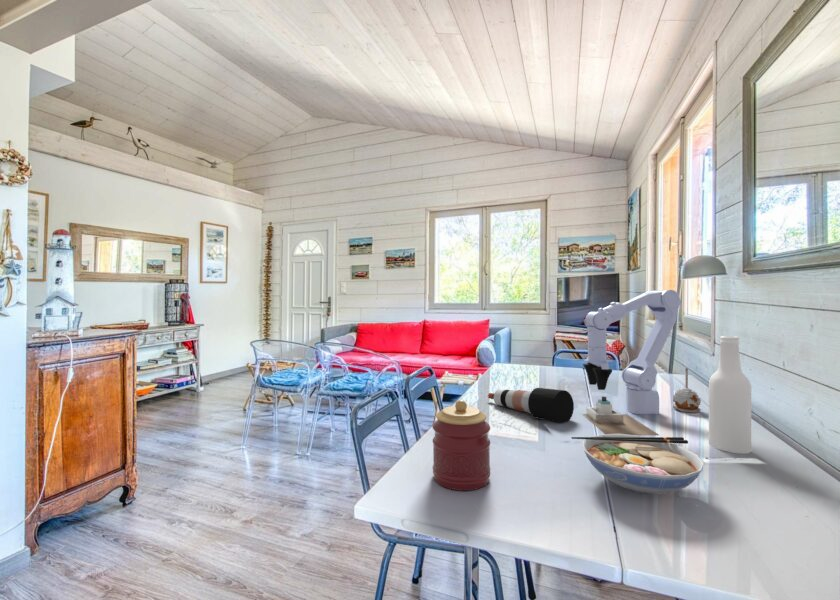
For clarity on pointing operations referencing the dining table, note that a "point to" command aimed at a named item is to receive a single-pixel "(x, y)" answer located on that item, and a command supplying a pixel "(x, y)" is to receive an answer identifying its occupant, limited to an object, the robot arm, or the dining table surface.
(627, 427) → the board
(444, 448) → the canister
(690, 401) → the caramel apple
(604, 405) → the connector plug
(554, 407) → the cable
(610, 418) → the end holder
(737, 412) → the alcohol
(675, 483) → the ramen bowl
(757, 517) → the dining table surface
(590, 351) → the robot arm
